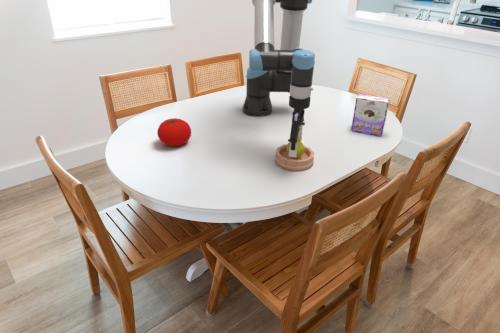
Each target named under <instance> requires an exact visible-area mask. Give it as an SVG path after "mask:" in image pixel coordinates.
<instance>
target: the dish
mask: <svg viewBox="0 0 500 333" xmlns="http://www.w3.org/2000/svg"><path fill="white" fill-rule="evenodd" d="M287 144H288V143H287ZM287 144H286V143H285V144H282V145H280V146H278V147H277V149H276V151H275V154H274V162H275V164H276V165H277V166H278V167H279V168H281V169H283V170H286V171H290V172H302V171H303V172H305V171H306V170H309V169H311V168H312V167H313V166H314V160H315V158H314V157H315V156H314V155H315V152H314V151H313V150H312V149H311V148H310V147H308V146H306V145H304V148H305V149H304V153H303V155H302V156H300V157H298V158H293V157H289V155H288V153H287V150H286V146H287Z"/></svg>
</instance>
